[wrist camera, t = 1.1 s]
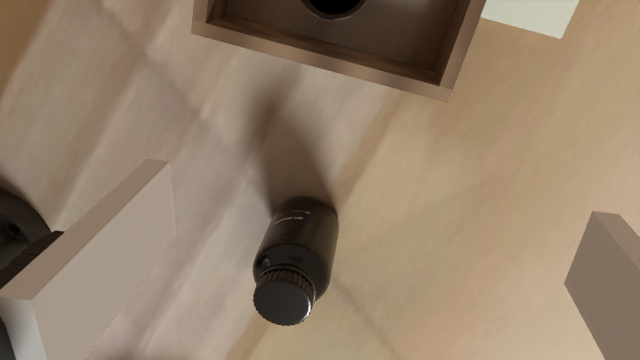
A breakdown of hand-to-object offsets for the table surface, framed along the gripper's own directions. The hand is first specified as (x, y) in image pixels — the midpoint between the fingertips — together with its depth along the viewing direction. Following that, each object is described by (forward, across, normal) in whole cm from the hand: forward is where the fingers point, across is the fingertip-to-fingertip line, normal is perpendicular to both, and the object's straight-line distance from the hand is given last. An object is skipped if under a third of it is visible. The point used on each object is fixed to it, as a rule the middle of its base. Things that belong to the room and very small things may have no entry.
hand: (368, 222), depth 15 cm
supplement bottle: (+27, -5, -18) cm, 33 cm away
